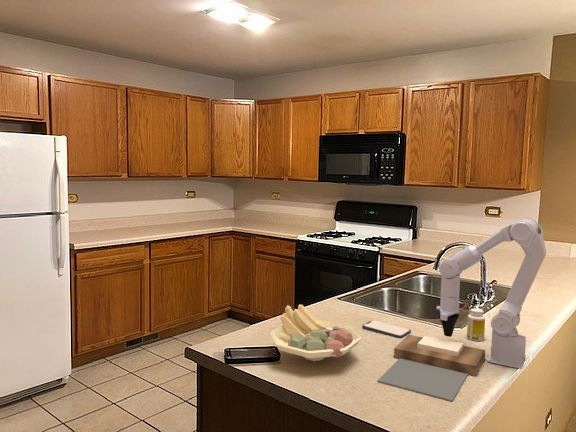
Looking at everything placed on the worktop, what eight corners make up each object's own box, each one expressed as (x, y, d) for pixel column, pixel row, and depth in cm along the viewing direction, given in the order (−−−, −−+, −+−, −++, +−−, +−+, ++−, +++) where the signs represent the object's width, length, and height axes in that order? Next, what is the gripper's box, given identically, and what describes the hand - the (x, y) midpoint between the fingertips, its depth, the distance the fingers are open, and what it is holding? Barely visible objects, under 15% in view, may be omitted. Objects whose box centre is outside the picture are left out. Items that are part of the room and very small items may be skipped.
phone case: (412, 333, 167) (372, 323, 177) (412, 329, 167) (373, 319, 177) (400, 340, 160) (360, 329, 171) (401, 336, 160) (360, 325, 170)
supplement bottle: (487, 339, 160) (489, 310, 159) (476, 342, 157) (478, 313, 156) (474, 334, 165) (475, 306, 164) (463, 337, 162) (464, 308, 161)
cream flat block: (463, 347, 145) (463, 343, 145) (457, 356, 138) (457, 351, 138) (424, 340, 151) (425, 335, 151) (417, 348, 144) (417, 343, 144)
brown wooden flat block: (484, 359, 143) (485, 350, 143) (475, 376, 132) (476, 366, 131) (408, 343, 156) (408, 334, 156) (393, 357, 145) (394, 348, 144)
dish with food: (290, 332, 164) (290, 293, 161) (369, 345, 153) (370, 304, 151) (254, 368, 138) (253, 323, 136) (346, 387, 127) (346, 338, 125)
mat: (467, 375, 132) (467, 373, 132) (452, 401, 117) (452, 400, 117) (399, 359, 143) (399, 358, 143) (377, 381, 128) (377, 380, 128)
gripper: (443, 288, 159) (441, 327, 161) (431, 298, 147) (429, 340, 149) (464, 291, 155) (462, 331, 157) (454, 302, 143) (452, 344, 145)
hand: (448, 335), depth 152 cm, fingers closed
